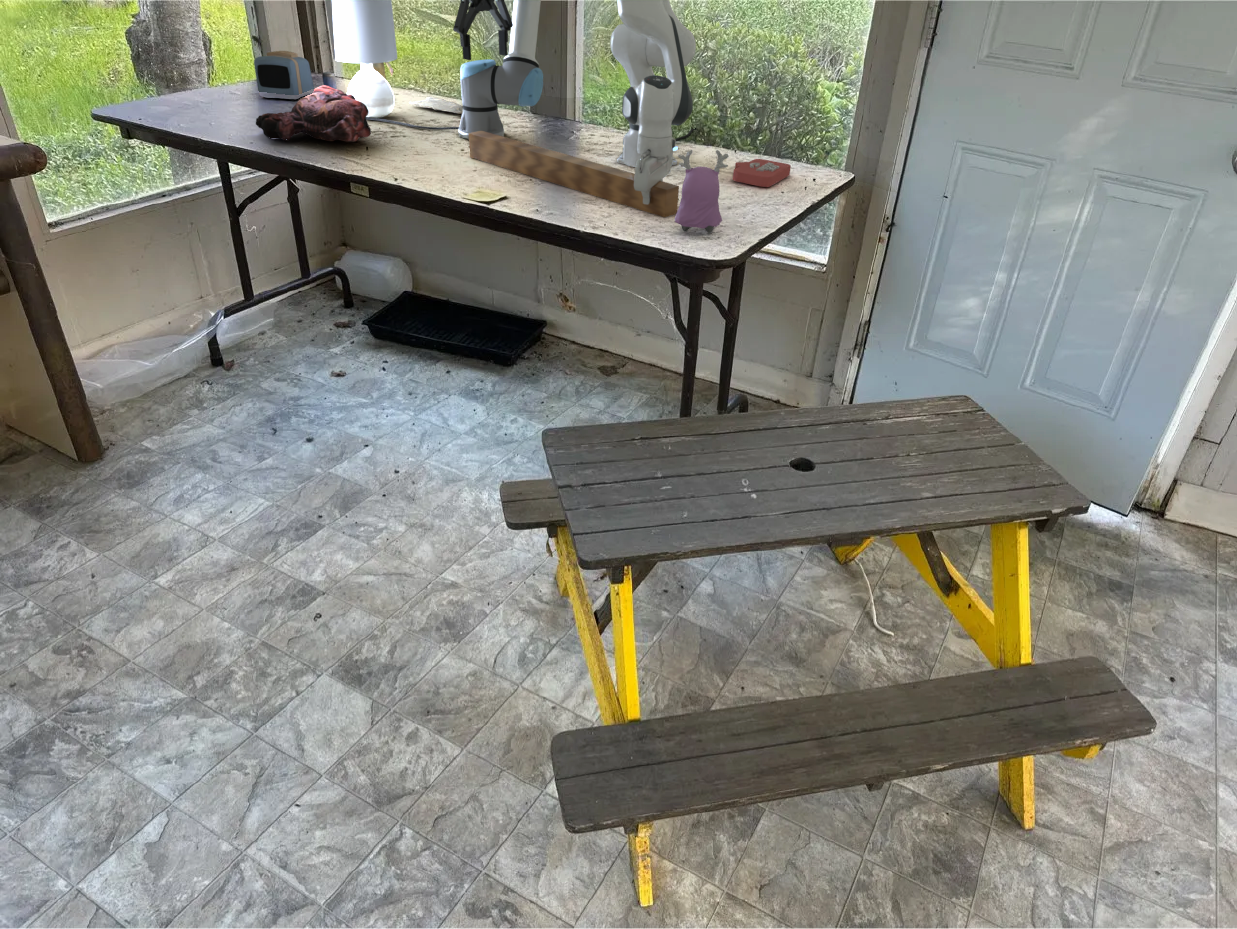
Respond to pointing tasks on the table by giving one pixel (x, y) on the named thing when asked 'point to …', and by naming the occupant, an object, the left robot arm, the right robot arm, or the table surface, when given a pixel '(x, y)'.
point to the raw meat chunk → (320, 117)
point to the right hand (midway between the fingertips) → (651, 199)
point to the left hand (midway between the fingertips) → (485, 57)
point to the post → (572, 172)
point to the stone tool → (439, 105)
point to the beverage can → (329, 79)
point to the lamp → (364, 48)
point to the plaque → (760, 172)
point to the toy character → (700, 195)
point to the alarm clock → (283, 73)
